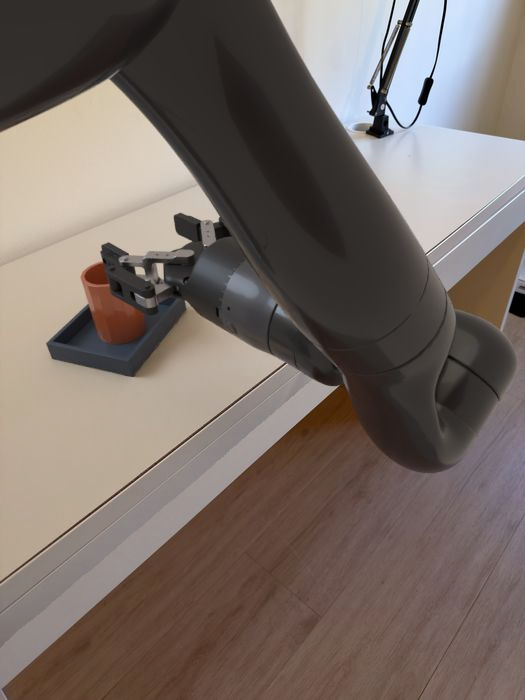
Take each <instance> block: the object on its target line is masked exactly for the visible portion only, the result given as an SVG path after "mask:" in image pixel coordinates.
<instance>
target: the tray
mask: <svg viewBox="0 0 525 700" xmlns="http://www.w3.org/2000/svg"><path fill="white" fill-rule="evenodd" d="M186 303H187V302H186V301H185V300H182V299H175V298H172V297H169V298H167V299H165V300H164V301H162V302H160V303H159V304H158V307H159V312H158V313H157V314H155V315H146V314H145V313H144V314H145V318H146V325H147V327H146V330H145V332H144V333H143V334H142V335H141V336H140V337H139V338H137V339H135V340H133V341H131V342H128V343H124V344H109V343H106V342H104V341H102V340H101V339H100V338H99V336H98V333H97V330H96V327H95V324H94V321H93V317H92V314H91V311H90V308H89V304H88V303H87V304H86V305H85V306H84V307H83V308H82V309H81V310H80V311H78V312H77V313H76V314H75V315H74V316H73V317H72V318H71V319H70V320H68V321H67V323H66V324H64V325H63V326H62V327H61V329H59V330H58V331H57V332H56V333H55V334H54V335H53V336H52V337H51V338H50V339H48V341H47V342H46V343H45V344H46V348H47V349H48V353H49V354H50V357H51V359H53V360H56V361H61V362H65V363H70V364H74V365H78V366H83V367H86V368H87V367H88V368H91V369H96V370H99V371H100V370H101V371H105V372H109V373H114V374H117V375H122V376H127V377H134V376H135V375H136V373H137V372H138V371H139V370H140V369H141V367H143V364H144V363H145V362H146V361H147V360H148V358H149V357H150V356H151V355H152V353H153V352H154V351H155V349H157V347H158V346H159V345H160V343H162V341H164V339H165V337H166V336H167V335H168V334H169V332H170V331H171V330H172V329H173V328H174V327H175V325H176V324H177V323H178V321H179V320H180V318H182V316H183V315H184V314H185V313H186V311H187V304H186Z"/></svg>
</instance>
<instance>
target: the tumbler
mask: <svg viewBox="0 0 525 700" xmlns="http://www.w3.org/2000/svg"><path fill="white" fill-rule="evenodd" d="M80 281H81V283H82V289H83V291H84V294H85V298H86V301H87V304H89V308H90V311H91V314H92V317H93V321H94V324H95V327H96V330H97V333H98V336H99V338H100V339H101V340H102V341H104V342H106V343H109V344H124V343H128V342H131V341H133V340H135V339H137V338H139V337H140V336H141V335H142V334H143V333H144V332H145V330H146V327H147V325H146V318H145V314H144V313H143V312H141V311H139V310H138V309H136V308H134V307H132V306H130V305H129V304H127V303H125V302H123V301H122V300H120V299H118V298H116V297H115V296H113V295H111V292H110V286H109V282H108V278H107V275H106V272H105V267H104V265H103V261H102V260H101V261H98V262H95V263H93V264H91V265H89V266H87V267H86V268H85V269H84V270H82V272H81V274H80Z"/></svg>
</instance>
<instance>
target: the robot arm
mask: <svg viewBox="0 0 525 700" xmlns="http://www.w3.org/2000/svg"><path fill="white" fill-rule="evenodd" d="M108 80H109V81H110V82H111V83H112V84H113V85H114V86H115V87H116V88H117V89H118V90H120V91H121V93H122V94H123V95H124V96H125V97H126V98H127V100H129V101H130V102H131V103H132V105H134V106H135V107H136V108H137V110H138V111H139V112H140V113H141V114H142V115H143V116H144V117H145V119H146V120H147V121H148V122H149V123H150V124H151V125H152V127H153V128H154V129H155V130H156V131H157V132H158V134H159V135H160V136H161V137H162V138H163V139H164V141H165V142H166V143H167V144H168V146H169V147H170V149H171V150H172V151H173V152H174V154H175V155H176V156H177V157H178V159H179V160H180V161H181V163H182V164H183V165H184V167H185V168H186V169H187V170H188V172H189V173H190V175H191V176H192V178H193V179H194V181H195V182H196V183H197V185H198V186H199V188H200V189H201V190H202V192H203V193H204V195H205V197H206V198H207V199H208V201H209V202H210V205H212V207H213V208H214V210H215V211H216V213H217V215H218V216H219V217H218V221H215V222H213V220H211V219H203V220H201V219H199V218H196V217H194V216H191V215H187V214H185V213H183V212H178V213H176V214H173V223H174V230H175V232H176V234H177V235H178V236H180V237H183V238H185V239H186V240H188V241H190V242H188V243H186V244H184V245H183V246H182V247H180V248H175V249H173V250H171V251H165V250H164V251H161V250H160V251H158V250H149V251H147V252H146V254H145V255H135V254H134V255H131V254H130V253H129V252H127V251H126V250H123V249H122V248H121V247H118V246H116V245H115V244H114V243H111V242H108V241H107V242H106V243H103V244H101V246H100V248H101V250H100V252H99V253H100V256H101V262H102V261H103V265H104V267H105V272H106V275H107V278H108V282H109V286H110V292H111V295H113V296H115V297H116V298H118V299H120V300H122V301H123V302H125V303H127V304H129V305H130V306H132V307H134V308H136V309H138V310H139V311H141V312H143V313H145V314H146V315H155V314H157V313H158V312H159V307H158V304H159V303H160V302H162V301H164V300H165V299H167V298H169V297H172V298H175V299H182V300H185V302H186V303H187V304H188V305H189V306H190V307H191V308H192V309H193V310H194V311H195V312H196V313H197V314H198V315H199V316H200V317H202V318H204V319H205V320H207V321H209V322H210V323H212V324H213V325H215V326H216V327H219V328H220V329H222V330H224V331H225V332H227V333H229V334H230V335H232V336H233V337H235V338H237V339H238V340H240V341H242V342H244V343H245V344H247V345H249V346H251V347H252V348H254V349H256V350H259V351H261V352H263V353H265V354H268V355H271V356H273V357H275V358H277V359H279V360H280V361H282V362H284V363H285V364H287V365H288V366H290V367H292V368H293V369H296V370H297V371H299V372H300V373H302V374H303V375H305V376H307V377H308V378H310V379H312V380H314V381H315V382H317V383H319V384H322V385H324V386H328V387H339V386H342V385H344V386H345V389H346V391H347V394H348V396H349V399H350V401H351V405H352V407H353V410H354V413H355V415H356V417H357V419H358V421H359V423H360V425H361V427H362V428H363V431H364V432H365V433H366V435H367V436H368V438H369V439H370V440H371V442H372V443H373V444H374V445H375V447H377V449H379V451H381V453H383V454H384V455H385V456H386V457H387V458H388V459H390V460H391V461H392V462H394V463H396V464H397V465H399V466H400V467H403V468H404V469H407V470H409V471H413V472H416V473H422V474H437V473H441V472H445V471H448V470H450V469H452V468H453V467H455V466H456V465H458V464H459V463H460V462H461V461H462V460H463V458H465V456H466V455H467V454H468V452H469V451H470V449H471V448H472V446H473V445H474V443H475V441H476V440H477V438H478V436H479V435H480V433H481V432H482V430H483V428H484V427H485V425H486V424H487V422H488V421H489V419H490V418H491V416H492V414H493V413H494V411H495V410H496V408H497V406H498V405H499V402H501V401H502V399H503V397H505V396H504V395H505V394H506V393H507V391H508V390H509V388H510V386H511V384H512V383H513V381H514V379H515V377H516V376H517V375H516V374H517V372H518V369H519V358H518V354H517V351H516V349H515V347H514V345H513V343H512V342H511V341H510V339H509V338H508V337H507V335H506V334H505V333H504V331H502V330H500V329H499V328H498V327H497V326H496V325H494V324H493V323H492V322H490V321H489V320H486V319H484V318H483V317H481V316H478V315H476V314H474V313H471V312H467V311H464V310H460V309H456V308H455V306H454V304H453V302H452V299H451V297H450V295H449V293H448V291H447V289H446V287H445V286H444V284H443V282H442V280H441V278H440V277H439V275H438V273H437V271H436V270H435V267H434V266H433V263H431V261H430V259H429V256H428V255H427V254H426V251H425V250H424V249H423V247H422V245H421V243H420V242H419V240H418V239H417V236H416V235H415V233H414V231H413V230H412V228H411V226H410V224H409V223H408V222H407V220H406V219H405V216H404V215H403V214H402V212H401V211H400V209H399V207H398V206H397V205H396V203H395V201H394V200H393V199H392V197H391V196H390V194H389V193H388V191H387V189H386V188H385V187H384V185H383V183H382V182H381V180H380V179H379V178H378V176H377V175H376V173H375V172H374V170H373V168H372V167H371V165H370V164H369V162H368V161H367V159H366V158H365V156H364V155H363V153H362V152H361V151H360V149H359V148H358V146H357V144H356V143H355V141H354V140H353V138H352V137H351V135H350V134H349V132H348V131H347V129H346V127H345V126H344V124H343V123H342V121H341V120H340V118H339V116H338V115H337V114H336V112H335V111H334V109H333V108H332V106H331V104H330V103H329V101H328V99H327V98H326V96H325V95H324V93H323V92H322V91H323V90H321V88H320V87H319V85H318V83H317V82H316V80H315V78H314V77H313V75H312V73H311V72H310V70H309V68H308V66H307V65H306V63H305V61H304V59H303V58H302V56H301V54H300V52H299V51H298V48H297V47H296V45H295V43H294V41H293V40H292V38H291V36H290V34H289V32H288V30H287V28H286V26H285V24H284V23H283V21H282V18H281V17H280V14H279V13H278V11H277V9H276V7H275V6H274V3H273V2H272V0H0V134H1V133H3V132H6V131H8V130H11V129H12V128H14V127H17V126H19V125H21V124H24V123H26V122H28V121H30V120H32V119H34V118H36V117H38V116H40V115H42V114H44V113H46V112H49V111H51V110H53V109H55V108H57V107H59V106H62V105H63V104H65V103H67V102H69V101H72V100H73V99H75V98H77V97H80V96H81V95H84V94H85V93H87V92H89V91H90V90H93V89H95V88H96V87H98V86H100V85H101V84H103V83H105V82H106V81H108ZM157 264H162V268H163V269H162V270H163V271H162V273H163V274H162V275H163V278H161V277H160V275H159V271H158V266H157ZM136 268H142V270H144V274H141V273H139V274H138V273H137V271H136Z"/></svg>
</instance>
